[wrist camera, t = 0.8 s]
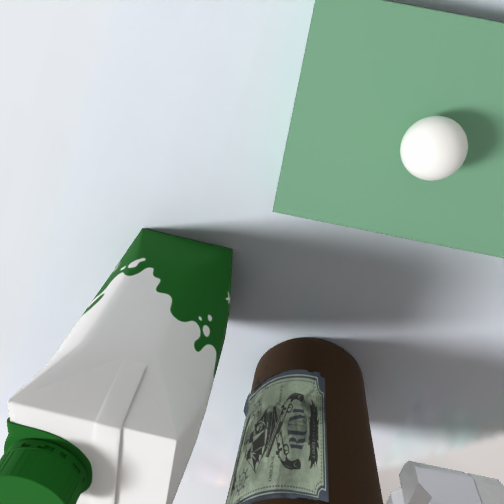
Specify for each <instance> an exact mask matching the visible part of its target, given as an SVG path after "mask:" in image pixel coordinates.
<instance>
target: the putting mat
mask: <svg viewBox="0 0 504 504" xmlns="http://www.w3.org/2000/svg"><path fill="white" fill-rule="evenodd" d="M429 116H444V117H448V118H450V119H452V120H454V121H455V122H457V123H458V124H459V125H460V126H461V127H462V129H463V130H464V132H465V134H466V136H467V140H468V151H467V155H466V158H465V160H464V162H463V164H462V165H461V167H460V168H459V169H458V170H457V171H456V172H455V173H453V174H452V175H450V176H448V177H446V178H444V179H441V180H435V181H428V180H423V179H420V178H417V177H415V176H414V175H412V174H411V173H410V172H409V171H408V170H407V169H406V168H405V166H404V164H403V162H402V159H401V155H400V146H401V142H402V139H403V136H404V134H405V133H406V131H407V130H408V129H409V128H410V127H411V126H412V125H413V124H414V123H415V122H417V121H419V120H421V119H423V118H425V117H429ZM273 212H277V213H282V214H287V215H292V216H297V217H302V218H306V219H311V220H316V221H321V222H326V223H331V224H336V225H341V226H346V227H351V228H356V229H361V230H366V231H371V232H376V233H381V234H386V235H391V236H396V237H401V238H406V239H411V240H416V241H421V242H426V243H431V244H436V245H441V246H446V247H451V248H456V249H461V250H466V251H471V252H476V253H481V254H486V255H491V256H496V257H501V258H504V23H503V22H498V21H493V20H488V19H482V18H477V17H472V16H466V15H461V14H456V13H450V12H445V11H440V10H434V9H429V8H424V7H418V6H413V5H408V4H403V3H397V2H392V1H387V0H315V5H314V10H313V14H312V19H311V24H310V29H309V34H308V39H307V44H306V49H305V54H304V59H303V64H302V69H301V74H300V79H299V83H298V88H297V93H296V98H295V103H294V108H293V113H292V118H291V123H290V128H289V133H288V138H287V143H286V148H285V152H284V157H283V162H282V167H281V172H280V177H279V182H278V187H277V192H276V197H275V202H274V207H273Z"/></svg>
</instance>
